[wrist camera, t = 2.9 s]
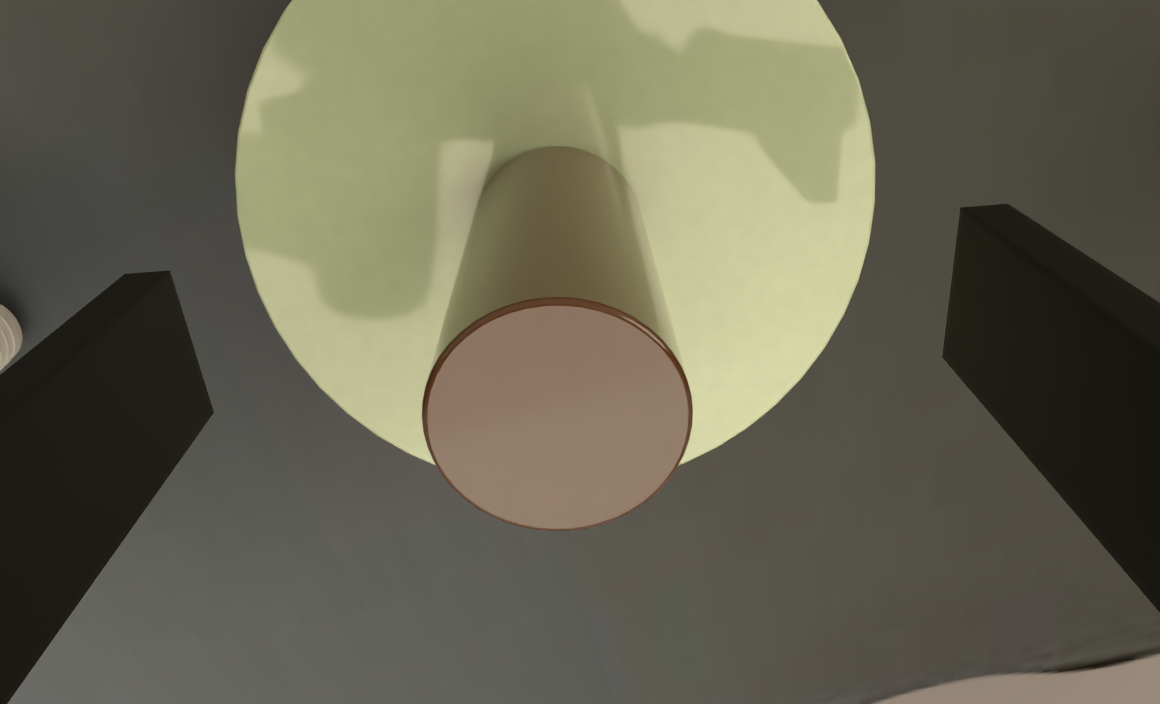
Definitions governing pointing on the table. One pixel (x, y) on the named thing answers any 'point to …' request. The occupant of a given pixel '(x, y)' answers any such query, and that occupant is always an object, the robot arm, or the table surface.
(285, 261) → the canister lid
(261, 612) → the table surface
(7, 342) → the lightbulb
